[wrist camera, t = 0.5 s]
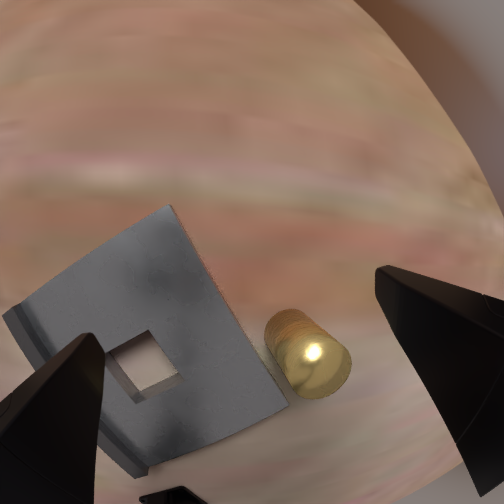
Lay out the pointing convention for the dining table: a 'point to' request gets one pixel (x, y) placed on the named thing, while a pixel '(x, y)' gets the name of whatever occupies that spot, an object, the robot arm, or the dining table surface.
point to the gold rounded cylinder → (307, 354)
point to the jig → (167, 336)
